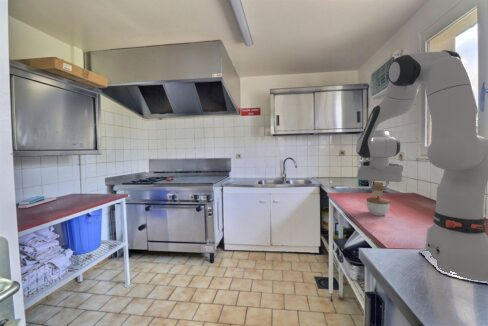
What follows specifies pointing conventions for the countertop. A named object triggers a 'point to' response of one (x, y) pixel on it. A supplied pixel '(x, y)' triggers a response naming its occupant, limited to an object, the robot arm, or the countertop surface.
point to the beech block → (378, 188)
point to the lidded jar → (378, 205)
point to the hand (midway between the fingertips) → (378, 189)
